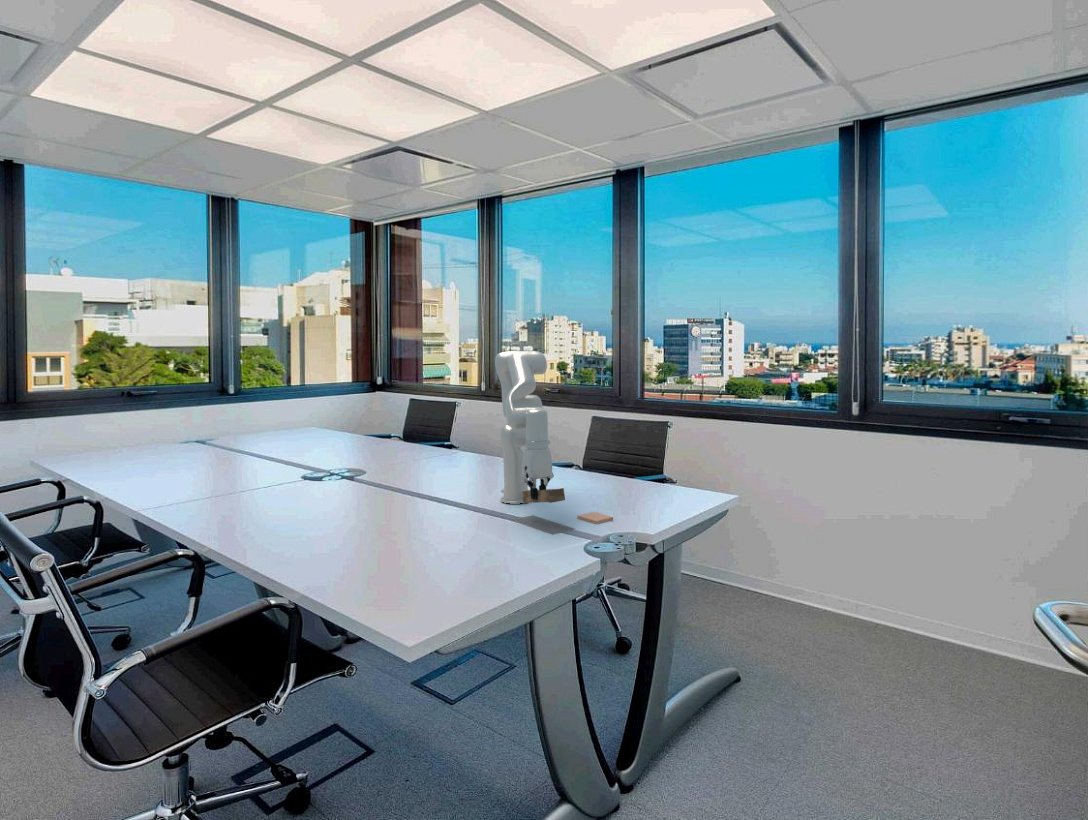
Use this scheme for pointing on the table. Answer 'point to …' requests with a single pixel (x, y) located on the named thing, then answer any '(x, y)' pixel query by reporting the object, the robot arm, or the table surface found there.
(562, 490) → the wooden beam
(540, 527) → the tool mat
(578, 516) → the tile
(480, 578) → the table surface
